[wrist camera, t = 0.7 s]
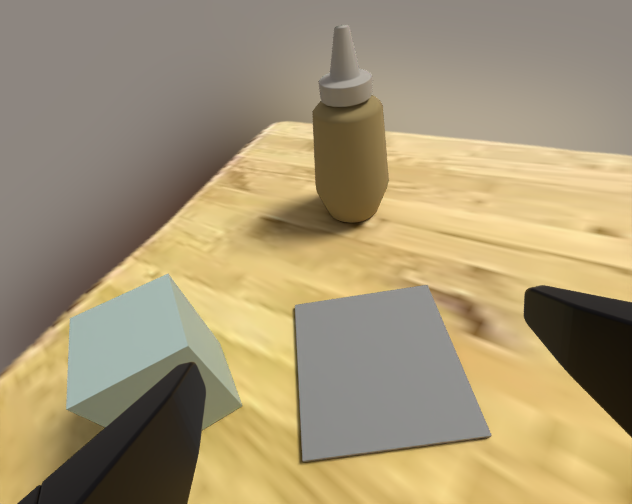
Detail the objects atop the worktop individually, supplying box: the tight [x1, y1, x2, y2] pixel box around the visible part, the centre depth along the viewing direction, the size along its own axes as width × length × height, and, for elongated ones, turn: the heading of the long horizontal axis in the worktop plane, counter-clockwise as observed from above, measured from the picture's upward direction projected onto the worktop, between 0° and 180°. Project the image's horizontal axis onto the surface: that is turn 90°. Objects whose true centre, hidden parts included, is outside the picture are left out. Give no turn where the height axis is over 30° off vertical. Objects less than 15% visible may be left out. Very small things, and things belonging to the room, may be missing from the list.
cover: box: [66, 274, 242, 430], centre depth 21 cm, size 6×6×10 cm
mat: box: [295, 285, 492, 462], centre depth 24 cm, size 12×12×1 cm
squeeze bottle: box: [313, 25, 389, 223], centre depth 31 cm, size 8×8×18 cm
